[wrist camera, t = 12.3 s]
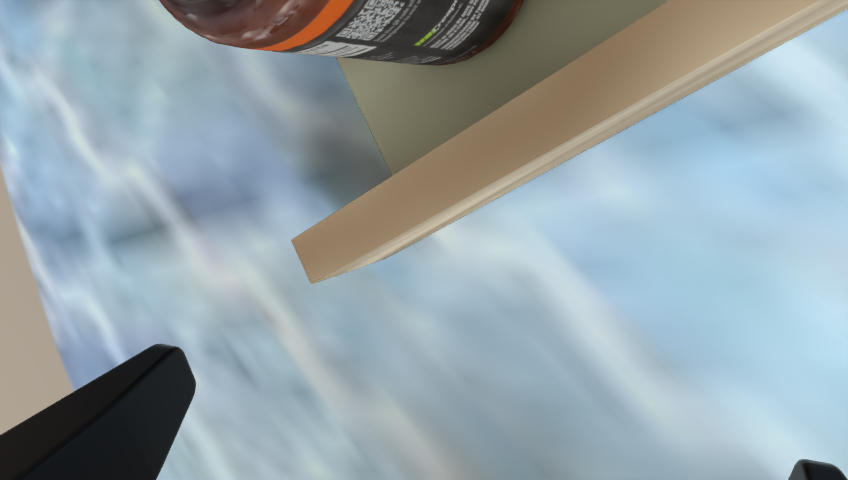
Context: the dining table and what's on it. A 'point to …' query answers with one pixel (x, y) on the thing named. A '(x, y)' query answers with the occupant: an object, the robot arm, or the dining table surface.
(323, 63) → the dining table surface
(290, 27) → the supplement bottle
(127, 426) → the robot arm
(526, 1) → the arena
